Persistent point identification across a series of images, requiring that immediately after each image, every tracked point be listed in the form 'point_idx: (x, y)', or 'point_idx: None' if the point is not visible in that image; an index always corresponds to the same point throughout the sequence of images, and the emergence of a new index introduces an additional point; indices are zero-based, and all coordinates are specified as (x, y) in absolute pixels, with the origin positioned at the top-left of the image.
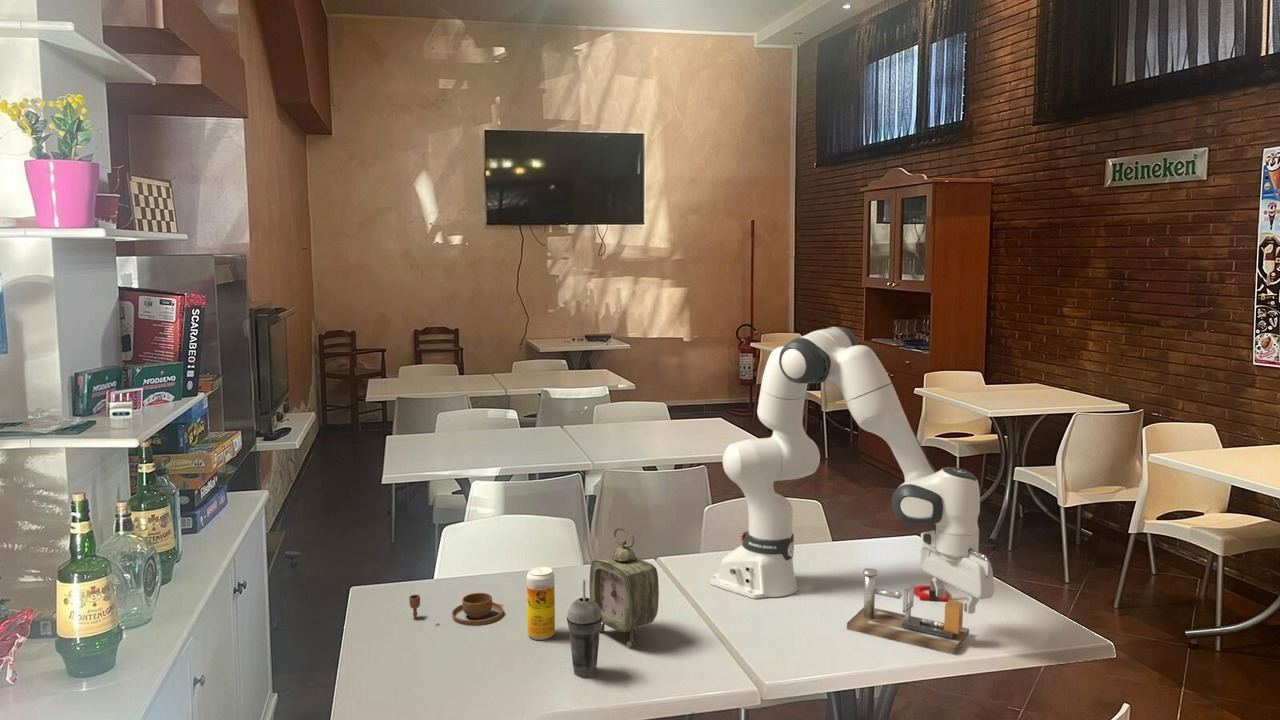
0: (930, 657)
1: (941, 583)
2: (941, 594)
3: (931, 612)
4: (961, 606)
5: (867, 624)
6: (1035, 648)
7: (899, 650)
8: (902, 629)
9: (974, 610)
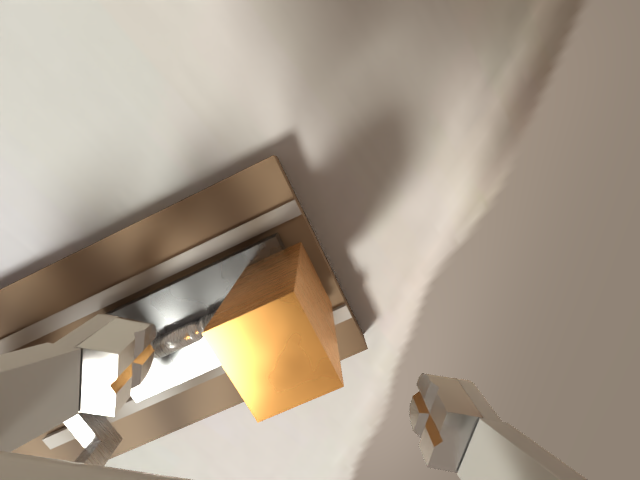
0: (332, 406)
1: (7, 388)
2: (131, 372)
3: (11, 90)
4: (316, 327)
5: (64, 452)
6: (513, 18)
7: (248, 444)
8: (160, 396)
9: (473, 391)
